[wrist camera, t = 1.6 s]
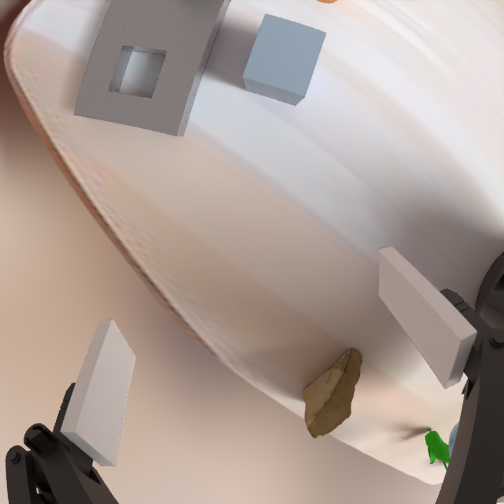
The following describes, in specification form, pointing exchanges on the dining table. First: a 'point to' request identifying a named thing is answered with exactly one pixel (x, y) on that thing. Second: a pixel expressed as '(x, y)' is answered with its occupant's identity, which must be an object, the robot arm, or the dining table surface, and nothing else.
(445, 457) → the flower
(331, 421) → the rock
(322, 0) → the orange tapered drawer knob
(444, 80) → the dining table surface
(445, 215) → the dining table surface
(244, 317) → the dining table surface
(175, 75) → the gray base set
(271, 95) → the light blue block
